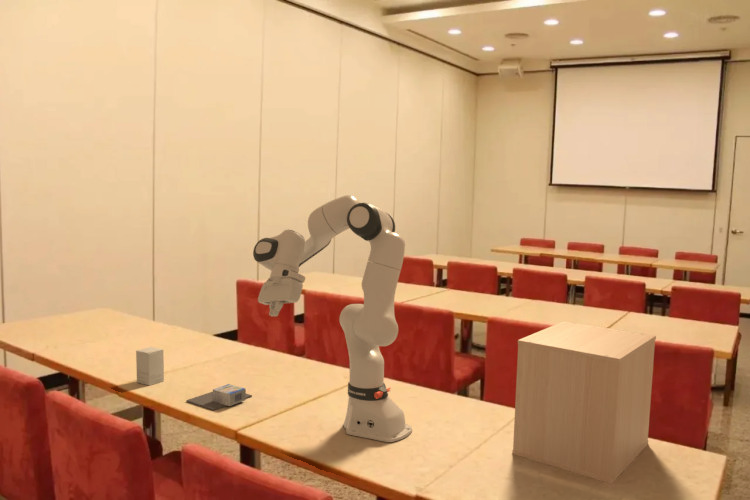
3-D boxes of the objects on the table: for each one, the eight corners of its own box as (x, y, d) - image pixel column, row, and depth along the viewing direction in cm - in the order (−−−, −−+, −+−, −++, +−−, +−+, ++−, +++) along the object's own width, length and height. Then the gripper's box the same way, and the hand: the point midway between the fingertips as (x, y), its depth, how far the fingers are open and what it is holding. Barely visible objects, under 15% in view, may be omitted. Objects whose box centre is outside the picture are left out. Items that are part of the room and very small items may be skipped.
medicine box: (230, 394, 221) (212, 389, 226) (229, 406, 222) (211, 401, 226) (246, 388, 228) (228, 383, 233) (246, 400, 229) (228, 395, 233)
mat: (251, 396, 234) (251, 395, 234) (213, 410, 219) (213, 408, 219) (225, 388, 242) (225, 387, 242) (186, 401, 227) (186, 400, 227)
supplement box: (164, 381, 249) (164, 349, 248) (148, 386, 243) (148, 353, 242) (152, 377, 253) (151, 346, 252) (136, 382, 247) (135, 350, 246)
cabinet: (558, 420, 218) (563, 320, 214) (648, 443, 200) (656, 335, 197) (512, 453, 191) (517, 339, 187) (611, 483, 173) (620, 358, 169)
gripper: (259, 275, 223) (248, 313, 218) (293, 270, 208) (282, 311, 203) (274, 281, 226) (264, 319, 222) (308, 277, 211) (298, 317, 207)
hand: (273, 315), depth 213 cm, fingers closed
